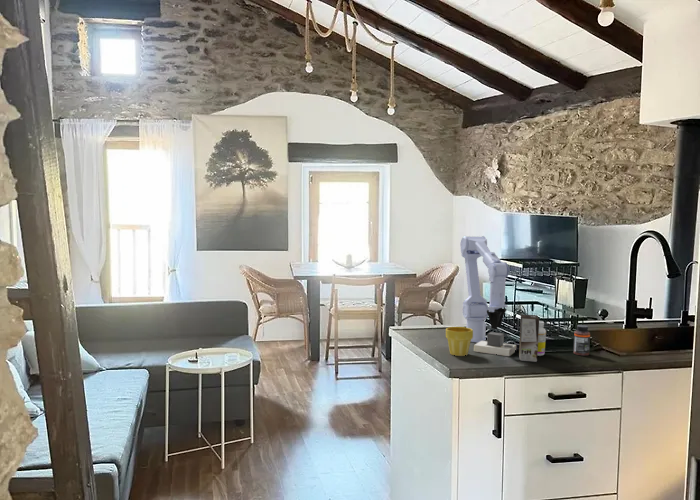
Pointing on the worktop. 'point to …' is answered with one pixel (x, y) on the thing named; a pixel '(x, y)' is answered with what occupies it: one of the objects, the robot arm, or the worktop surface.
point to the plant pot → (459, 340)
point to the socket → (495, 348)
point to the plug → (495, 339)
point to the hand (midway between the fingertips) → (495, 327)
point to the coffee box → (528, 338)
